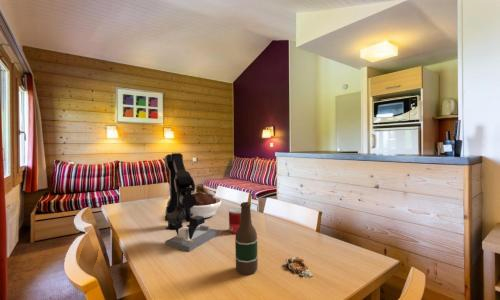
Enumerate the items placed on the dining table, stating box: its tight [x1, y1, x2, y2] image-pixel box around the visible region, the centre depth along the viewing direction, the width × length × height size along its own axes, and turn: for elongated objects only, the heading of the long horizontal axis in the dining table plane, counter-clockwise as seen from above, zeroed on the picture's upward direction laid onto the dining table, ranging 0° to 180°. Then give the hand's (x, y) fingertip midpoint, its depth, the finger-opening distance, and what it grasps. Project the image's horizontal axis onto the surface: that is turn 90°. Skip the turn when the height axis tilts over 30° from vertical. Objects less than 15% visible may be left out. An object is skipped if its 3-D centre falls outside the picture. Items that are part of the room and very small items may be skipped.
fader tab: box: [178, 226, 190, 242], centre depth 114 cm, size 4×4×5 cm
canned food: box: [228, 208, 241, 235], centre depth 129 cm, size 8×8×11 cm
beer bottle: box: [234, 201, 259, 276], centre depth 89 cm, size 8×8×24 cm
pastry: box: [281, 256, 314, 279], centre depth 90 cm, size 7×12×4 cm, turn 37°
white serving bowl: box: [191, 191, 222, 219], centre depth 157 cm, size 25×25×15 cm
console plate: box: [164, 224, 220, 252], centre depth 119 cm, size 14×22×4 cm, turn 152°
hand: (184, 237), depth 114 cm, fingers open, 6 cm apart
